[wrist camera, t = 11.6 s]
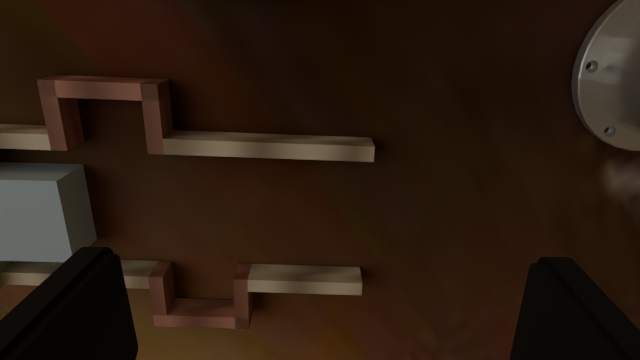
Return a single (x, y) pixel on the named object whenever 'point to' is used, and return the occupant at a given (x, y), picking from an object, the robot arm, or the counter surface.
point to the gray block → (44, 212)
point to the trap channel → (162, 139)
